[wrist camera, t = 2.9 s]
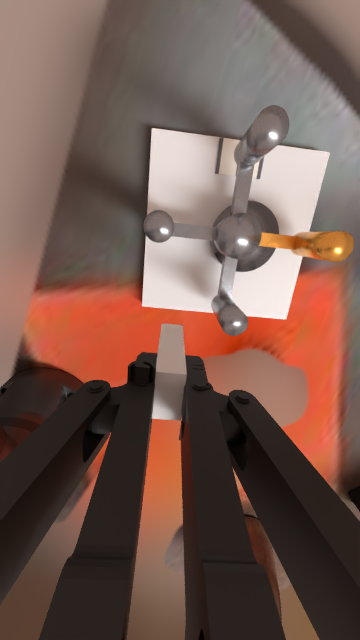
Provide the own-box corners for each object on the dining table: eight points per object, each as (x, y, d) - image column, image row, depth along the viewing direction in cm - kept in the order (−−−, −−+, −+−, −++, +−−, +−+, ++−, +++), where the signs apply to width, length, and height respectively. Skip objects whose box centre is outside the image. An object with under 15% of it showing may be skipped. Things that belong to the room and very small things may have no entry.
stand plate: (143, 303, 34) (141, 306, 33) (152, 133, 28) (151, 126, 26) (281, 316, 35) (286, 320, 34) (322, 156, 29) (331, 151, 27)
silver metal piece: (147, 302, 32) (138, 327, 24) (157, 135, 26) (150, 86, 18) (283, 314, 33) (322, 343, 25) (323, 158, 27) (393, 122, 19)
